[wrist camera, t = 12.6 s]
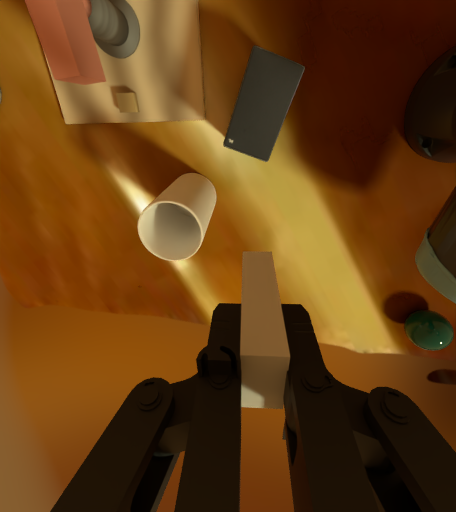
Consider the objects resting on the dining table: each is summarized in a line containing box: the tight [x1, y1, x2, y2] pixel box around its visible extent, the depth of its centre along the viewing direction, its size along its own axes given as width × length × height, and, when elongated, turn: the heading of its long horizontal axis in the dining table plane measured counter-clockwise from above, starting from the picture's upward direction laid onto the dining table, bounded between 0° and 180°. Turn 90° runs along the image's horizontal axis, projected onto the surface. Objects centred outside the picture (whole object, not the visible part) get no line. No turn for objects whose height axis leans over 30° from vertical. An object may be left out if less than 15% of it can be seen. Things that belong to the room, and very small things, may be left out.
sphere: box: [404, 310, 454, 350], centre depth 52 cm, size 8×8×8 cm
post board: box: [44, 0, 206, 124], centre depth 30 cm, size 22×22×9 cm
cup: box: [138, 173, 216, 261], centre depth 38 cm, size 8×8×16 cm
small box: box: [223, 45, 305, 162], centre depth 33 cm, size 11×6×10 cm, turn 161°
